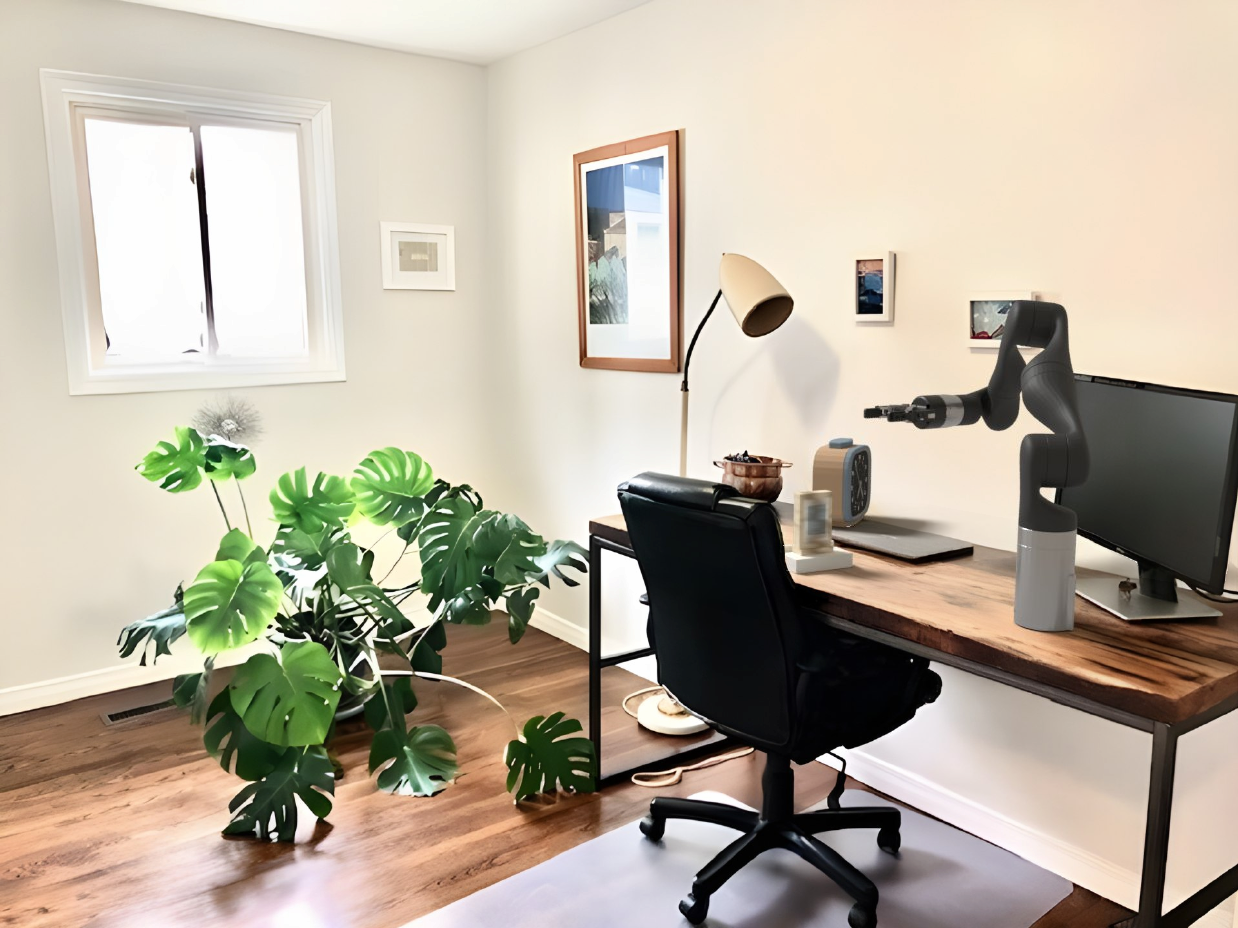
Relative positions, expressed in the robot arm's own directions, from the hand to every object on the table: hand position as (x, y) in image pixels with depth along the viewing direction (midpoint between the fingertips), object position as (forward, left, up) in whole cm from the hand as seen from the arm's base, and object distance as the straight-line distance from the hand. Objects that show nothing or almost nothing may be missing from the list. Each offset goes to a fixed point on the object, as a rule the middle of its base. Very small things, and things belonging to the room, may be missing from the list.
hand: (876, 415), depth 208 cm
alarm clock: (+11, -37, -32) cm, 50 cm away
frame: (+12, +10, -29) cm, 33 cm away
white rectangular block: (+12, +10, -32) cm, 35 cm away
